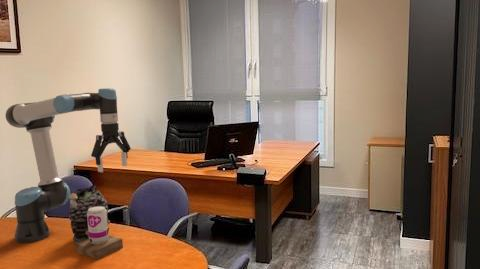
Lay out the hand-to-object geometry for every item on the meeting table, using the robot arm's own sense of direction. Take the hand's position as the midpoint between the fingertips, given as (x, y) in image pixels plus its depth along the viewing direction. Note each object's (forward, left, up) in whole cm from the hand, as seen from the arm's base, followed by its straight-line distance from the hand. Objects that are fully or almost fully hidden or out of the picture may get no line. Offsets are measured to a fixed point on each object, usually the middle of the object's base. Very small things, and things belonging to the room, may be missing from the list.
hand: (112, 168), depth 193 cm
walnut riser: (+2, -12, -34) cm, 36 cm away
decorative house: (-14, -4, -34) cm, 37 cm away
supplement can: (+2, -12, -30) cm, 33 cm away
